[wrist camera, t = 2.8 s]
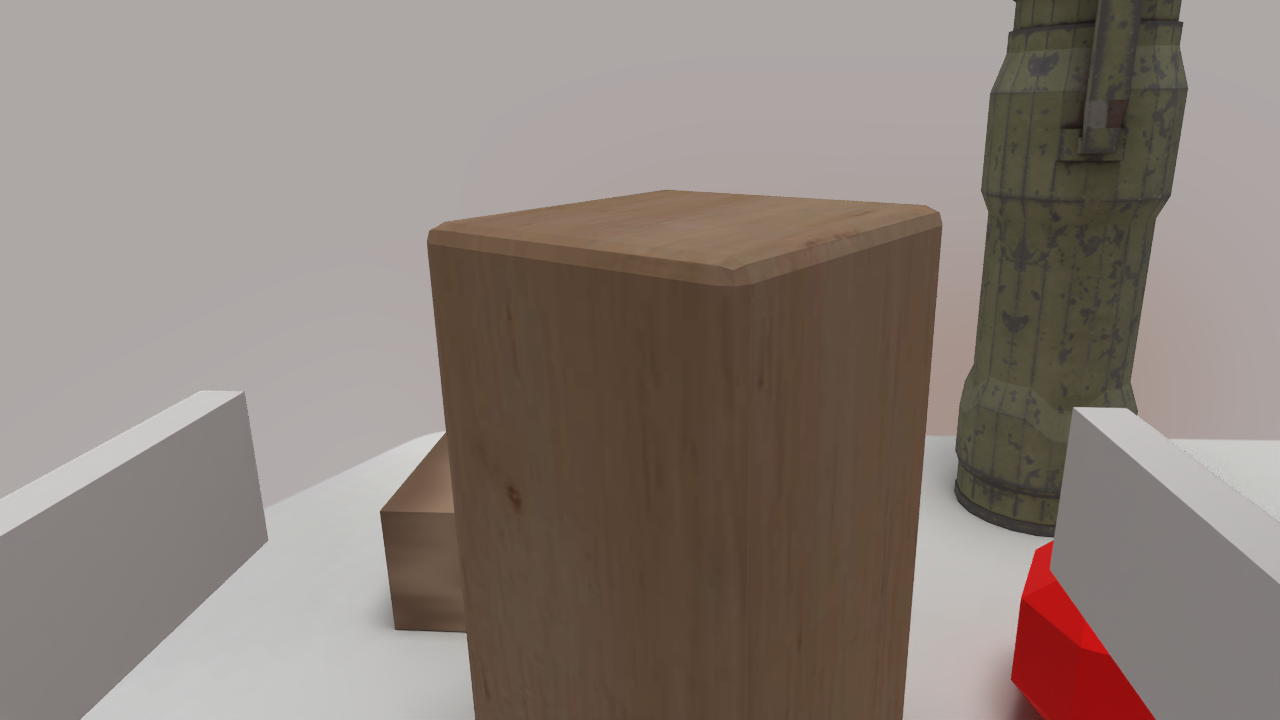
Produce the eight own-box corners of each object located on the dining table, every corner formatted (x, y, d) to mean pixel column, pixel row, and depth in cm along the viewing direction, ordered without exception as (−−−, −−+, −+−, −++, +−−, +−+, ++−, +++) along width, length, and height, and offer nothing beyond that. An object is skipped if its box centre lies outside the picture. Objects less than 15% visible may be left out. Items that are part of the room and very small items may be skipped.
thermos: (1084, 463, 53) (1173, -159, 43) (1154, 558, 42) (1297, -247, 32) (939, 455, 55) (991, -145, 45) (970, 545, 44) (1050, -224, 34)
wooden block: (480, 832, 27) (416, 223, 22) (672, 677, 35) (663, 187, 29) (729, 1044, 21) (736, 261, 15) (901, 800, 28) (951, 204, 22)
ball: (1252, 704, 32) (1293, 527, 30) (1272, 859, 26) (1325, 649, 23) (1027, 641, 36) (1048, 481, 34) (995, 762, 30) (1018, 574, 28)
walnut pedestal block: (689, 504, 49) (689, 409, 48) (678, 639, 37) (676, 517, 35) (475, 500, 51) (466, 407, 49) (395, 629, 38) (379, 511, 36)
